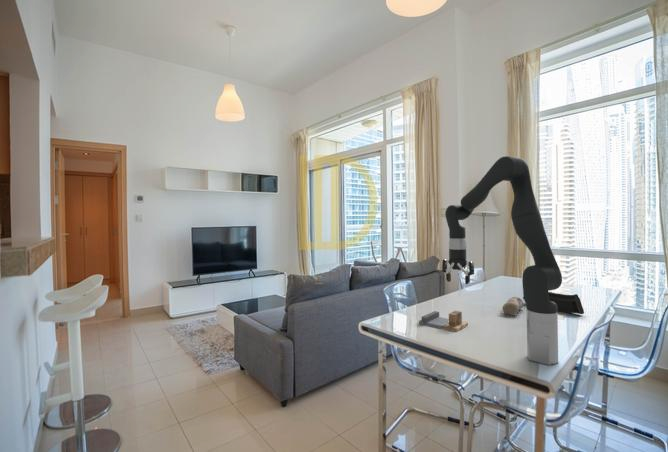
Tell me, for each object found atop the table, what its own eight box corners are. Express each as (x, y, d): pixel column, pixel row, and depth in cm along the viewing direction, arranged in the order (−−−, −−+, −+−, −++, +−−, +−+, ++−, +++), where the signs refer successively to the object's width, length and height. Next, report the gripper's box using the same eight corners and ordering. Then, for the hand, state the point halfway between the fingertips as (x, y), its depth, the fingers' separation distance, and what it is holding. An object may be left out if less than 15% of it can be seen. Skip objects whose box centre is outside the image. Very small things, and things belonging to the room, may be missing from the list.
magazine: (589, 298, 159) (533, 273, 185) (586, 299, 158) (529, 274, 184) (579, 328, 164) (525, 300, 190) (575, 329, 162) (521, 300, 188)
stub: (456, 331, 142) (456, 317, 142) (442, 328, 147) (442, 314, 147) (468, 325, 151) (467, 311, 151) (454, 322, 155) (454, 308, 155)
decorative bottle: (518, 317, 162) (518, 304, 162) (502, 314, 167) (501, 302, 167) (526, 305, 182) (526, 294, 182) (511, 304, 187) (511, 292, 187)
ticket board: (441, 328, 147) (441, 321, 147) (418, 323, 155) (418, 316, 155) (454, 322, 156) (454, 314, 156) (431, 317, 164) (431, 310, 164)
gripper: (439, 247, 151) (439, 282, 152) (469, 249, 141) (469, 286, 142) (446, 246, 157) (447, 279, 157) (476, 248, 147) (476, 283, 147)
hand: (457, 282), depth 149 cm, fingers open, 8 cm apart
